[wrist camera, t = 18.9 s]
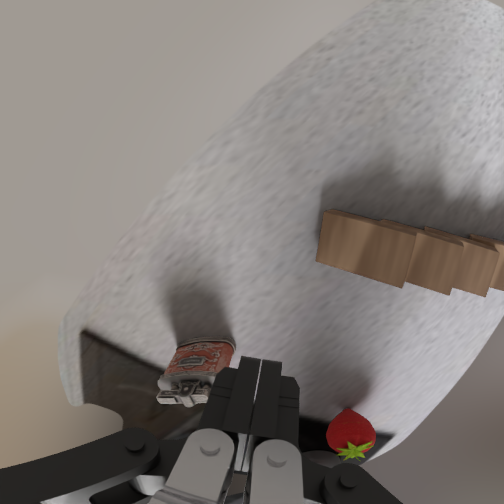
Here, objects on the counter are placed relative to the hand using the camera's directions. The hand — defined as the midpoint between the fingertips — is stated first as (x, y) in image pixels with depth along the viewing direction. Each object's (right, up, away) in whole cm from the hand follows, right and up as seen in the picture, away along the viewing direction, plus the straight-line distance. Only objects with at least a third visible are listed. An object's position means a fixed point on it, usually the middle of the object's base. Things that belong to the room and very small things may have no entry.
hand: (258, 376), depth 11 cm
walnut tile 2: (+12, +5, +19) cm, 23 cm away
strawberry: (+14, -18, +28) cm, 36 cm away
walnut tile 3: (+18, +5, +18) cm, 26 cm away
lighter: (-6, -8, +27) cm, 29 cm away
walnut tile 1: (+7, +6, +19) cm, 21 cm away
